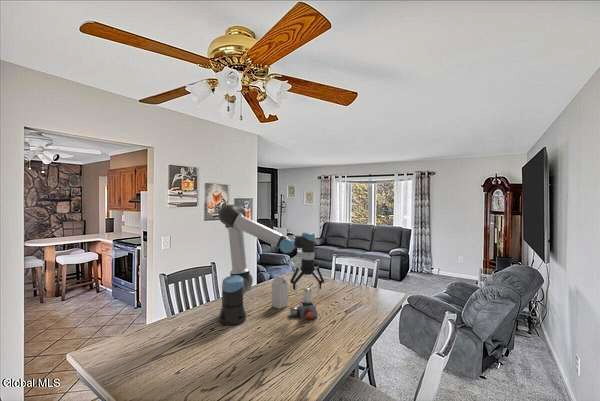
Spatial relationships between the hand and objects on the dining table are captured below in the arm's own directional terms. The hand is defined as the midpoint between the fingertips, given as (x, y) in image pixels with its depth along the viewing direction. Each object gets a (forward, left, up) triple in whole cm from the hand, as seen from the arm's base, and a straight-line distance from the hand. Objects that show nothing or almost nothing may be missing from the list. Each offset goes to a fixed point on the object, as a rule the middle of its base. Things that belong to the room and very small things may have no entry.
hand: (306, 294), depth 169 cm
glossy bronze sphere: (+4, +8, -12) cm, 15 cm away
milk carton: (-15, +16, -12) cm, 25 cm away
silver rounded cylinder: (0, 0, -8) cm, 8 cm away
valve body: (-2, -2, -12) cm, 12 cm away
